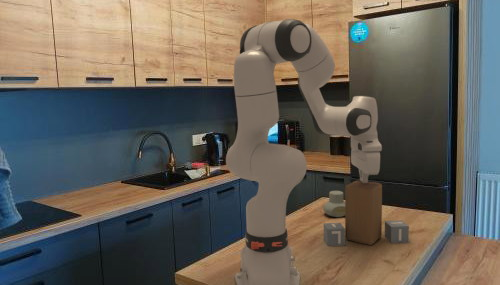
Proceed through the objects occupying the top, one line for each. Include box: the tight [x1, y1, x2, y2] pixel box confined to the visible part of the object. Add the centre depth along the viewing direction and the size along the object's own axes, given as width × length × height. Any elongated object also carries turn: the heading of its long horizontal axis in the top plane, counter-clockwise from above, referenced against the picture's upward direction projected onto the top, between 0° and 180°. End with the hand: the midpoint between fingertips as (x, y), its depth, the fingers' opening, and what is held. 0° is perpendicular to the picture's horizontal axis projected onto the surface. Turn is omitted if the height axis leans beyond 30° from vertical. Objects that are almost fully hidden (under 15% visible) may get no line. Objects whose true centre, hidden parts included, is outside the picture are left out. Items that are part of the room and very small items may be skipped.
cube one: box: [384, 219, 410, 244], centre depth 134 cm, size 6×6×6 cm
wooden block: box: [344, 179, 383, 246], centre depth 135 cm, size 10×10×20 cm
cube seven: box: [323, 222, 346, 247], centre depth 134 cm, size 6×6×6 cm
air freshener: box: [322, 190, 345, 218], centre depth 162 cm, size 11×8×10 cm
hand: (363, 182), depth 134 cm, fingers closed
